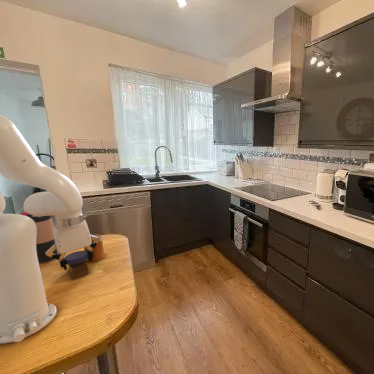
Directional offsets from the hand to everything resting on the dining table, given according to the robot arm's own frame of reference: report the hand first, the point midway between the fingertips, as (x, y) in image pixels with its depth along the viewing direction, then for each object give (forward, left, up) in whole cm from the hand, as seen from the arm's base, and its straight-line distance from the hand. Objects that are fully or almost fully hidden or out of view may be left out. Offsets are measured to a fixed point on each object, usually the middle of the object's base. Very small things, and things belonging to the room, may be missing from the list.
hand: (78, 263), depth 83 cm
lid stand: (0, 0, -3) cm, 3 cm away
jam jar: (+7, -7, -3) cm, 10 cm away
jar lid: (0, 0, +3) cm, 3 cm away
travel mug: (+21, +7, -3) cm, 22 cm away
